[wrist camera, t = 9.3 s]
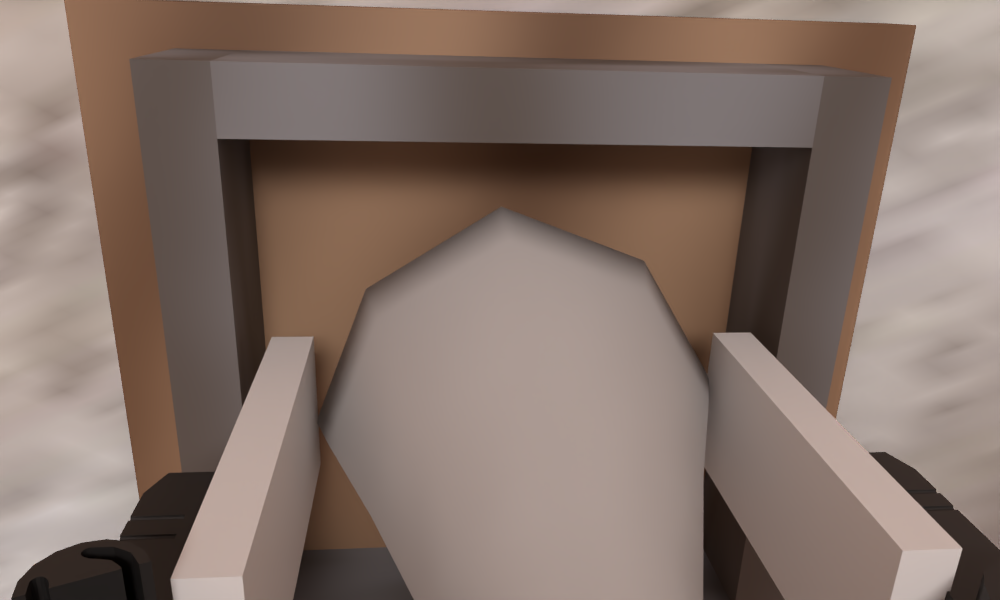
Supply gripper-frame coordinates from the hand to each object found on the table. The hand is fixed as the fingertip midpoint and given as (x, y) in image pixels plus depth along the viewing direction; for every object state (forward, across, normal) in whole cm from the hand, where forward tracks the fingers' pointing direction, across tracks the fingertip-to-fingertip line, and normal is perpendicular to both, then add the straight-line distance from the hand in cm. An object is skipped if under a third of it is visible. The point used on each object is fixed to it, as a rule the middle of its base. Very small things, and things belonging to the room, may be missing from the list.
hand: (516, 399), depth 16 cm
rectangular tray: (+3, 0, 0) cm, 3 cm away
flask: (0, 0, 0) cm, 0 cm away
